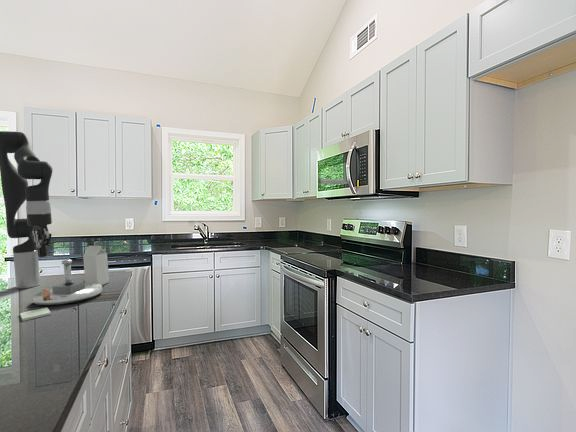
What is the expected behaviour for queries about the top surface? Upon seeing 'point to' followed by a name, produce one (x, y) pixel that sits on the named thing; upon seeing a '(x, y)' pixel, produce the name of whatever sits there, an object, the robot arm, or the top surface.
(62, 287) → the light grey disc
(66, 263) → the metal pin
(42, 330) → the top surface
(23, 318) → the pad
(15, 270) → the robot arm
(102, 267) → the milk carton
